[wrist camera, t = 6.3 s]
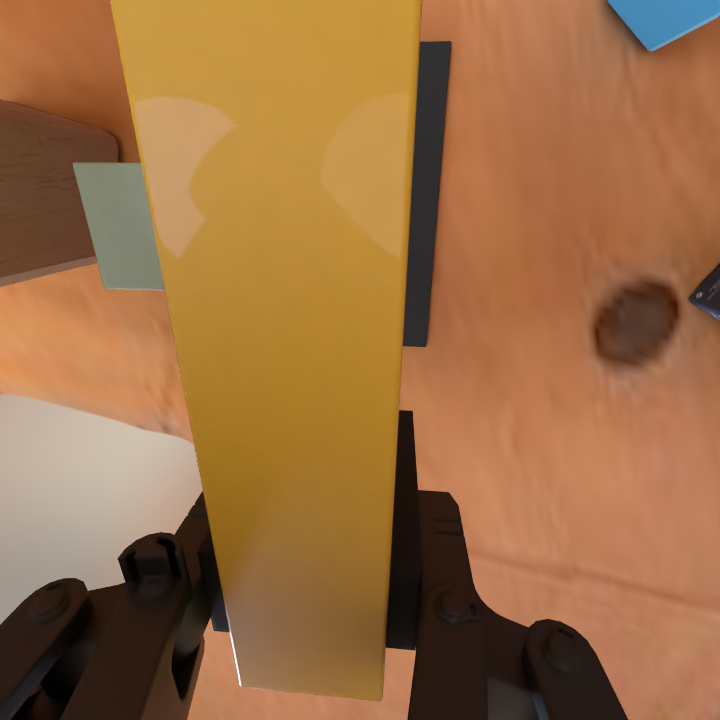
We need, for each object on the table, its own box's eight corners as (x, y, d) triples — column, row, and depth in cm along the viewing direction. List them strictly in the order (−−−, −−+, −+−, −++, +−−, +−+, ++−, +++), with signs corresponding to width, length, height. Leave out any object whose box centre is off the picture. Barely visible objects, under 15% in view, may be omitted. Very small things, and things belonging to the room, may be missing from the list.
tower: (192, 160, 31) (49, 142, 18) (287, 161, 30) (209, 142, 18) (206, 259, 34) (93, 303, 21) (293, 261, 33) (230, 307, 21)
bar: (202, -291, 6) (-90, -1012, 2) (430, -311, 6) (487, -1156, 2) (282, 551, 13) (239, 688, 10) (386, 559, 13) (382, 704, 9)
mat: (304, 45, 27) (303, 43, 27) (450, 43, 27) (451, 41, 26) (316, 341, 36) (315, 342, 36) (426, 345, 36) (426, 347, 35)
